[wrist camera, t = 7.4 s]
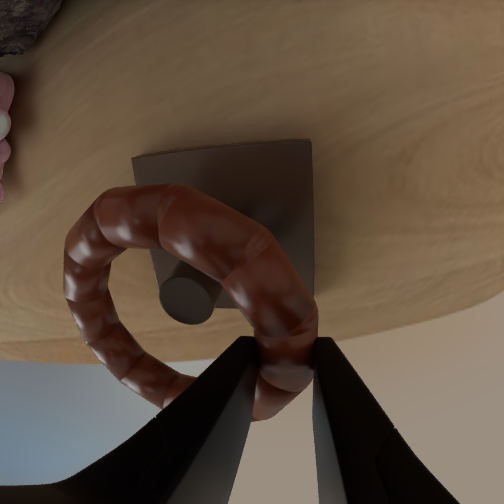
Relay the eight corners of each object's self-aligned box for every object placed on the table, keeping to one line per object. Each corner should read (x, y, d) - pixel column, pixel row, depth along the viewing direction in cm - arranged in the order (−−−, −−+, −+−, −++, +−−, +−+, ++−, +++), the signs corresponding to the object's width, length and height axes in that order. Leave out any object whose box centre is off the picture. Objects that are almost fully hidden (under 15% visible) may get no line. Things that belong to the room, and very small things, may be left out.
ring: (313, 414, 10) (305, 450, 9) (124, 372, 13) (105, 396, 11) (322, 172, 7) (315, 190, 5) (62, 188, 9) (27, 204, 8)
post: (313, 297, 18) (314, 393, 12) (169, 295, 20) (119, 374, 13) (310, 138, 14) (319, 159, 8) (141, 154, 16) (54, 188, 9)
